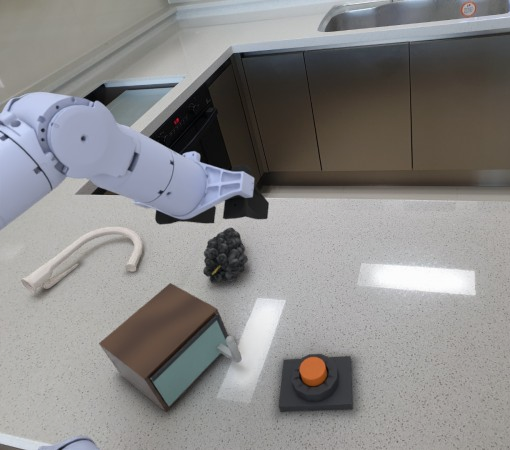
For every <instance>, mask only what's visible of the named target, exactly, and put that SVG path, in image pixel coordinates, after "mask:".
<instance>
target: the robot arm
mask: <svg viewBox="0 0 510 450" xmlns="http://www.w3.org/2000/svg"><path fill="white" fill-rule="evenodd" d="M67 178H69V179H70V178H72V179H75V180H77V179H78V180H80V179H81V180H82V179H83V180H84V179H86V180H88V181H90V182H91V183H92V184H93V185H95V186H96V187H98V188H99V189H103V190H106V191H109V192H111V193H113V194H117V195H119V196H122V197H125V198H127V199H130V200H133V201H132V204H133V205H135V206H138V207H140V208H144V209H147V210H148V209H153V210H155V215H154V219H155V222H156V224H158V225H160V226H161V225H172V224H175V223H179V222H181V223H183V222H184V223H195V224H203V225H205V224H208V225H209V224H215V220H216V211H217V207H216V206H217V205H219V204H221V203H224V204H223V205H224V206H223V213H222V219H223V220H233V219H242V218H249V219H253V220H267V219H268V218H269V217H268V216H269V205H270V203H269V200H267V198H265V196H264V195H263V194H262V193H261V191H260V190H259V188H258V186H257V184H256V181H255V177H254V176H253V170H252V168H251V167H250V166H248V165H245V164H239V165H238V164H237V165H232V166H231V170H228V169H225V168H220V167H217V166H214V165H211V164H207V163H204V162H201V154H200V153H199V152H197V151H195V150H193V151H187V152H184V153H182V154H181V153H178V152H176V151H174V150H172V149H171V148H169V147H167V146H165V145H163V144H162V143H160V142H158V141H156V140H154V139H152V138H151V137H148V136H146V135H145V134H143V133H141V132H139V131H138V130H135V129H134V128H132V127H130V126H128V125H125V124H120V123H118V122H117V121H116V119H115V116H114V115H113V113H112V112H111V111H110V109H108V107H107V106H106V105H105V104H103V103H102V102H101V101H99V100H95V101H92V100H89V99H87V98H84V97H79V96H72V95H66V94H59V93H54V92H47V91H37V92H36V91H35V92H28V93H25V94H23V95H21V96H19V97H13V98H10V99H9V100H8V101H7V103H6V104H5V105H4V107H3V109H2V110H1V112H0V232H1V231H2V230H3V229H5V228H6V227H7V226H9V225H10V224H11V223H12V222H14V221H15V220H16V219H18V218H19V217H21V216H22V215H23V214H24V213H25V212H27V211H28V210H29V209H31V208H32V207H33V206H35V205H36V204H37V203H38V202H40V201H41V200H43V199H44V198H45V197H46V196H47V195H49V194H50V193H51V192H52V191H54V190H55V189H56V188H58V187H59V186H60V185H61V184H62V183H63V181H64V180H65V179H67ZM37 450H102V449H101V448H100V447H98V446H97V444H96V442H95V441H94V440H93V439H92V438H91V437H89V436H87V435H75V436H72V437H69V438H67V439H66V440H62V441H61V442H59V443H56V444H52V445H41V446H39V447H38V448H37Z"/></svg>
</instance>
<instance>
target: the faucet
mask: <svg viewBox="0 0 510 450" xmlns="http://www.w3.org/2000/svg"><path fill="white" fill-rule="evenodd" d="M110 235H119V236H124V237H127V239H130V240H131V241H132V242H133V250H132V253H131V255H130V257H129V259H128V261H127V263H126V264H125V266H124V268H125V270H126V271H128V272H131V273H135V272H137V266H138V263H139V261H140V259H141V256H142V254H143V250H144V248H143V247H144V246H143V245H144V244H143V240H142V238H141V237H140V235H139V233H137V232H136V231H134V230H132V229H130V228H128V227H124V226H105V227H100V228H97V229H93V230H91V231H89V232H87V233H83V234H82V235H81V236H79V237H78V238H76V239H75V240H74V241H73V242H72V243H70V244H69V245H67V246H66V247H65V248H64V249H63V250H62V251H60V252H59V253H58V254H56V255H55V256H54V257H52V258H51V259H49V260H48V261H47V262H45V263H44V264H42V265H40V266H39V267H37V268H36V269H35V270H33V272H31V273H30V274H29V275H28V276H26V277H22V278H21V279H20V281H21V284H22V285H23V286H24V287H25V289H26V290H27V291H29V292H30V293H33V294H35V293H36V292H37V290H38V288H39V287H41V286H42V287H43V288H44V289H46V290H48V289H50V288H52V287H53V286H55V284H57V283H59V282H60V281H61V280H62V279H63V278H65V277H66V276H67V275H69V274H70V273H72V271H73V270H75V269H76V268H77V267H78V266H79V262H77V263H76V264H74V265H73V266H71V267H69V269H67V270H66V271H64V272H63V273H60V274H57V275H55V276H53V277H52V274H53V271H54V270H55V269H56V268H57V267H58V266H60V265H61V264H62V263H63V262H65V261H66V260H67V259H68V258H69V257H71V255H73V254H74V253H75V252H77V251H78V250H79V249H80V248H82V246H83V247H84V245H86V244H87V243H89V242H91V241H93V240H95V239H97V238H100V237H104V236H110Z"/></svg>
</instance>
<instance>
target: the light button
mask: <svg viewBox="0 0 510 450" xmlns="http://www.w3.org/2000/svg"><path fill="white" fill-rule="evenodd" d="M300 374H301V377H302V380H303V382H304V383H305V384H306V385H308V386H318V385H320V384H322V383H323V382H324V381H325V379H326V377H327V371H326V366H325V363H324V362H323V360H321V359H320V358H318V357H310V358H307V359H305V360H304V361H303V362H302V363H301V365H300Z"/></svg>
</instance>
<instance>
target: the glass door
mask: <svg viewBox="0 0 510 450" xmlns="http://www.w3.org/2000/svg"><path fill="white" fill-rule="evenodd" d="M221 319H222V318H221ZM221 319H220V317H219V315H218V314H216V315H215V316H214V317H213V318H212V319H211V320H210V321H209V322H207V323H206V324H205V325H204V326H203V327H202V328H201V329H200V330H199V331H198V332H197V333H196V334H195V335H194V336H193V337H192V338H191V339H190V340H189V341H188V342H187V343H186V344H185V345H184V346H183V347H182V348H181V349H180V350H179V351H177V352H176V353H175V354H174V355H173V356H172V357H171V358H170V359H169V360H168V361H167V362H166V363H165V364H164V365H163V366H162V367H161V368H160V369H159V370H158V371H157V372H156V373H155V374H154V375H153V376H152V377H151V378H150V379H151V380H152V382H153V383H154V385H155V387H156V388H157V390H158V391H159V393H160V394H161V396H162V397H163V399H164V400H165V402H166V403H167V405H168V406H170V405H171V404H172V403H173V402H174V401H175V400H176V399H177V398H178V397H179V396H180V395H181V394H182V393H183V392H184V391H185V390H186V389H187V388H188V387H189V385H190V384H191V383H192V382H193V381H194V380H195V379H196V378H197V377H198V376H199V375H200V374H201V373H202V372H203V371H204V370H205V369H206V368H207V367H208V366H209V365H210V364H211V363H212V362H213V360H214V359H215V358H216V357H217V356H218V355H219V354H220V353H222V354H221V355H223V356H224V357H226V358H228V359H230V360H232V361H233V362H234V363H240V362H242V360H243V357H242V355H241V352H240V350H239V347H238V344H237V343H236V341H235V338H234V336H233V335H229V336H227V333H228V332H227V333H226V331H225V329H224V326H225V325H224V326H223V324H222V322H221ZM227 346H228V347H227ZM213 363H214V362H213ZM213 363H212V364H213ZM212 364H211V365H212ZM211 365H210V366H211ZM210 366H209V367H210ZM209 367H208V368H209ZM189 388H190V387H189ZM189 388H188V389H189ZM188 389H187V390H188ZM187 390H186V391H187ZM186 391H185V392H186Z"/></svg>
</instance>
